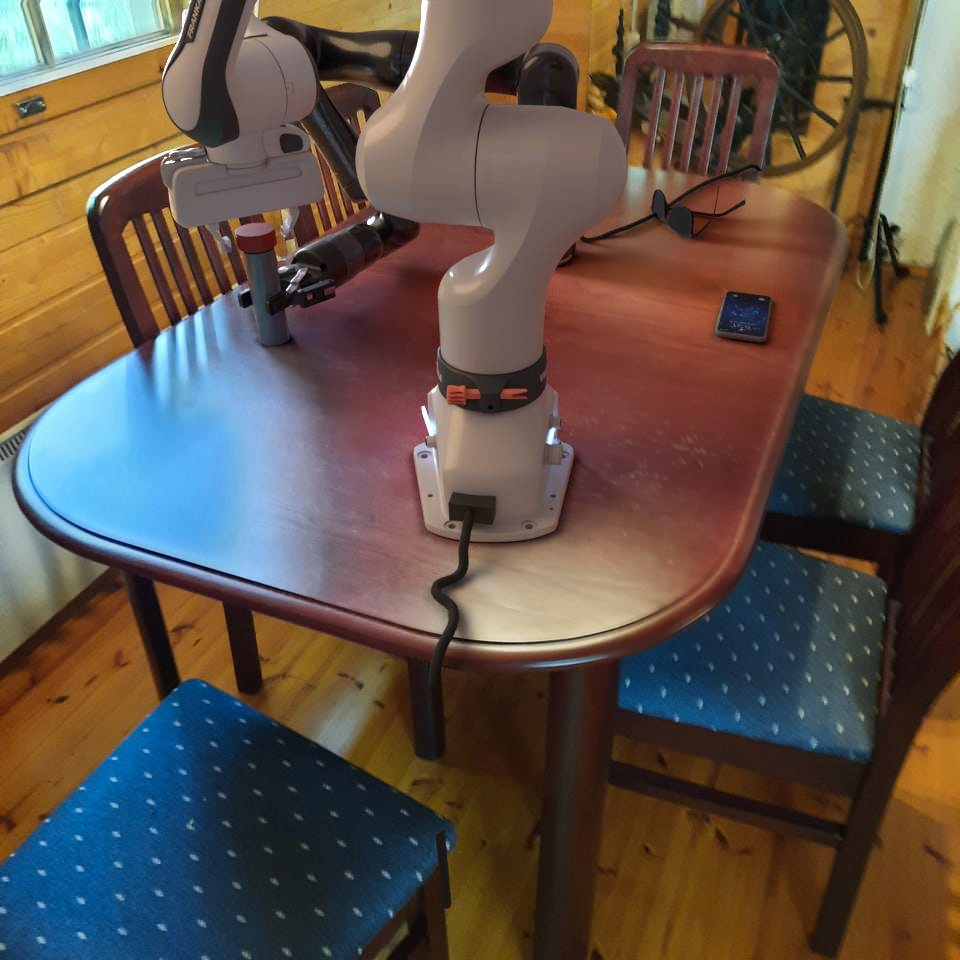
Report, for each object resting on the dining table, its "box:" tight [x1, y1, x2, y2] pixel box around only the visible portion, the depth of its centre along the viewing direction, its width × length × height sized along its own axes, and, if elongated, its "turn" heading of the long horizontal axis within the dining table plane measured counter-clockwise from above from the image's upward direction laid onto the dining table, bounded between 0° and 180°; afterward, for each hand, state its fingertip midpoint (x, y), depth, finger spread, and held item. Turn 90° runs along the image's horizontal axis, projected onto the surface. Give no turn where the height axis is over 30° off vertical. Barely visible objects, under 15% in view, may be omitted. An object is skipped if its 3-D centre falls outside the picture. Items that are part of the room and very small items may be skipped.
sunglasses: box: [649, 184, 746, 239], centre depth 159 cm, size 17×14×5 cm
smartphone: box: [714, 290, 774, 343], centre depth 128 cm, size 7×1×15 cm
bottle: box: [241, 246, 291, 347], centre depth 122 cm, size 4×4×16 cm
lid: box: [234, 222, 278, 252], centre depth 117 cm, size 5×5×2 cm
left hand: (257, 245), depth 118 cm, fingers open, 7 cm apart
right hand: (254, 305), depth 121 cm, fingers closed on bottle, 4 cm apart
